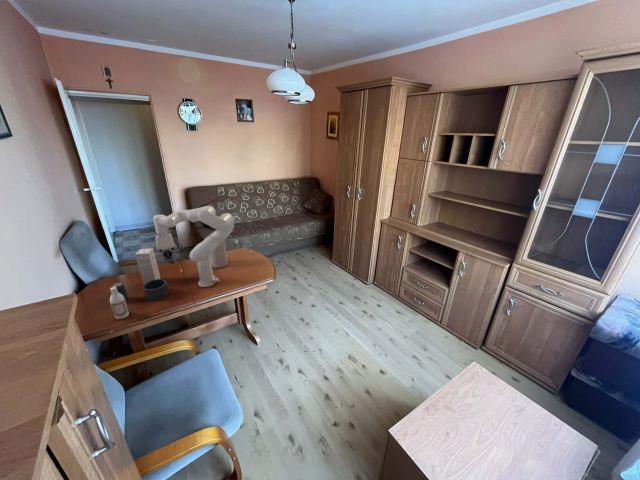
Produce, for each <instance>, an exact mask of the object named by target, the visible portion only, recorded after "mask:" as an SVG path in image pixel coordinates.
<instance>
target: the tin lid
mask: <svg viewBox="0 0 640 480" xmlns="http://www.w3.org/2000/svg"><path fill="white" fill-rule="evenodd" d="M164 251H165V254H166V258H165V257H164V256H163V254H161V255H160V256H158V257H156V262H157V263H159V264H169V263H174V262H175V261H178V260H179V259H180V258H181V255H180V253H178V252H172V257H171V256H170V249H169V248H167V249H164Z"/></svg>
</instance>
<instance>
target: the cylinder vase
mask: <svg viewBox="0 0 640 480" xmlns="http://www.w3.org/2000/svg"><path fill="white" fill-rule="evenodd" d="M228 262H229V261H228V254H227V248H226V238H225V239H224V240H223V241H222V242H221V243H220V244H219V245H218V247H217V248H216V249H215V250H214V251H213V252H212V253H211V263H212V268H215V269H220V268H224V267H226V266H228V265H229V264H228Z"/></svg>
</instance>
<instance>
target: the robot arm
mask: <svg viewBox="0 0 640 480" xmlns="http://www.w3.org/2000/svg"><path fill="white" fill-rule="evenodd" d="M216 213H217V212H216V209H215V208H214V207H213V206H211V205H205V206H201V207H197V208H196V207H195V208H192V209H183V210H179V211H174V212H173V213H170V214H169V215H165V214H156V215H153V217H152V220H153V225H154V229H155V234H156V235H155V242H156V247H155V252H160V253H162V255H163V256H164V257H165V258H166V254H165V250H166V249H169V251H170V256H171V257H172V253H173V251H174V250H175V249H176V248H177V247H178V246H177V244H176V243H175V242H174V239H173V236H172V229H171V228H173V227H175V226H177V225H179V224H180V223H182V222H187V221H190V222H191V223H196V222H201V223H202V224H204V225H207V226H209V227H211V228H213V229H215V230H214V231H213V232H212V233H210V234H209V235H208V236H207V237H205V238H204V240H202V241H201V242H198V243H197V244H196V245H195V246H194V247H193V248H192V249H191V251H190V252H189V259H190V260H191V261H192V262H193V263H196V268H197V272H198V277H199V278H198V279H199V281H198V282H197V284H198V286H199V287H201V288H209V287H212V286H214V285H215V284H216V283H217V282H220V278H219V277H216V275H214V271H213V266H212V263H211V253H212V252H213V251H214V250H215V249H216V248H217V247H218V245H219V244H220V243H221V242H222V241H223V240H224V239H225V240H226V239H227V238H229V236H230V235H231V234H232V232H233V231H234V228H235V219H234V217H233V215H232V214H231V213H228V212H225V213H222V214H221V215H220V216H218V215H216Z"/></svg>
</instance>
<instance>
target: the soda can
mask: <svg viewBox="0 0 640 480" xmlns="http://www.w3.org/2000/svg"><path fill="white" fill-rule="evenodd" d="M112 287H116V288H117V291H118V293H120V294H122V295H123V296H124V298H125V301H126V302H127V299H128V298H129V295H128V293H127V290H126V287H125V284H124V283H123V282H121V281H117V282H114V283H112V284H111V286H110V288H112Z"/></svg>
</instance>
